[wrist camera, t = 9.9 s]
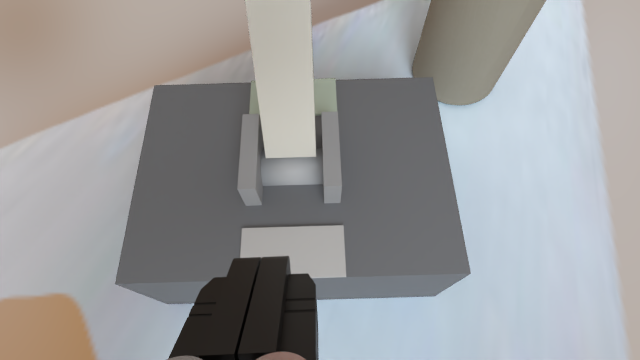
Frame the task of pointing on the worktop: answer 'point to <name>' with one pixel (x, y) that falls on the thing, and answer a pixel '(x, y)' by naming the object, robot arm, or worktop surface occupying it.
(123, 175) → the worktop surface
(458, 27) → the travel mug
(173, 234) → the grey box
